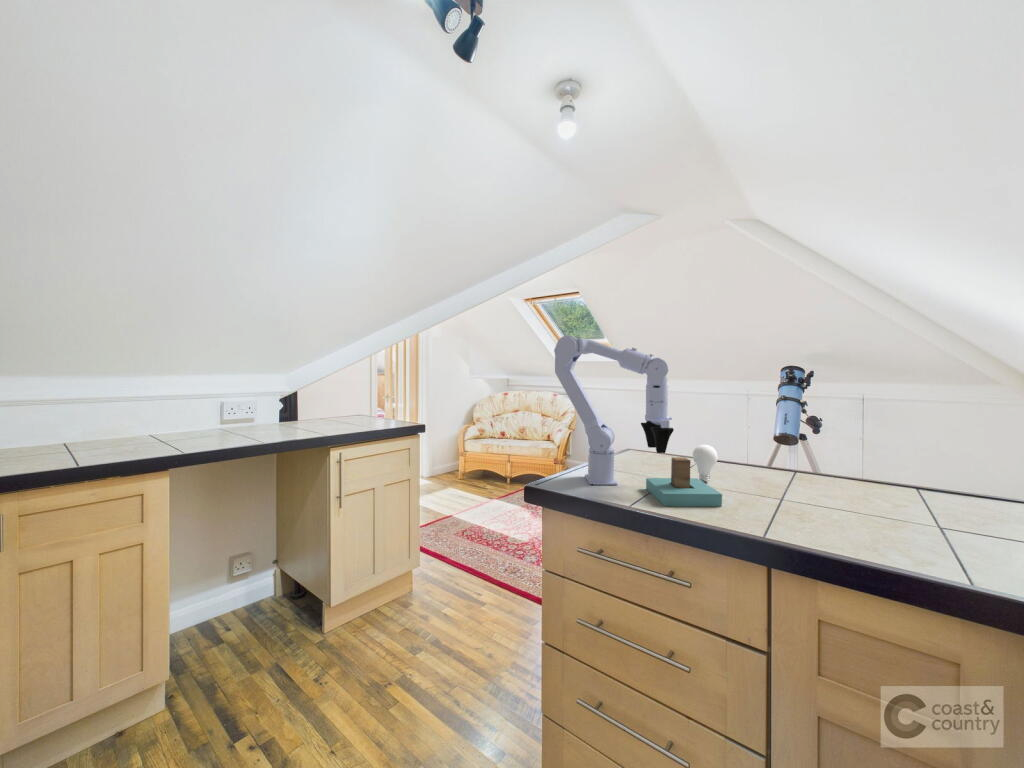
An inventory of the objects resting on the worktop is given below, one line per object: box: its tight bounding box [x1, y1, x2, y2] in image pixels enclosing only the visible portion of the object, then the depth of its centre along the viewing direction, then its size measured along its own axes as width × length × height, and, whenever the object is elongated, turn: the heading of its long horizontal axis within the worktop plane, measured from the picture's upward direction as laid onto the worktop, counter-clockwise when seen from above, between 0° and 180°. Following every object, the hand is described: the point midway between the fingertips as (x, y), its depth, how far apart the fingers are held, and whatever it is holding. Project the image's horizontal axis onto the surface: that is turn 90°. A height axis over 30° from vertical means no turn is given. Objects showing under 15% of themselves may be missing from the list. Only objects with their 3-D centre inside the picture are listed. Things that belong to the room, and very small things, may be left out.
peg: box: [670, 456, 691, 488], centre depth 108 cm, size 4×4×10 cm
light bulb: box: [692, 444, 719, 483], centre depth 122 cm, size 7×7×11 cm
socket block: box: [645, 477, 723, 507], centre depth 109 cm, size 14×14×3 cm
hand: (656, 450), depth 117 cm, fingers open, 7 cm apart
